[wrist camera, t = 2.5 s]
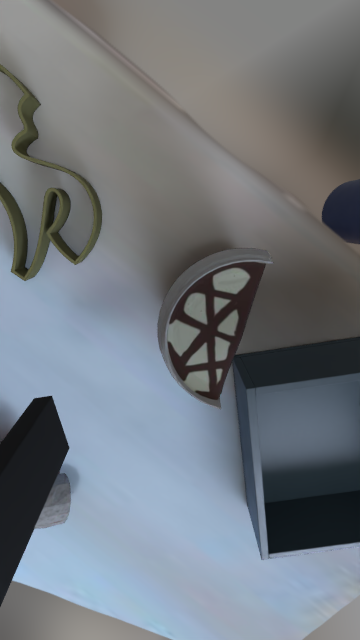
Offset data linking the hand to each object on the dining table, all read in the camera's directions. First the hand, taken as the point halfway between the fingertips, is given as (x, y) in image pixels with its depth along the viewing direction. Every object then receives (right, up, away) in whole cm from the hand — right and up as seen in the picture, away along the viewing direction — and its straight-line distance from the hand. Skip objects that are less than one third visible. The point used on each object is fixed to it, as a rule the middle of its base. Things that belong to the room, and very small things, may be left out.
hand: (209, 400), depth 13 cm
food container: (0, +6, +17) cm, 18 cm away
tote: (+15, -9, +23) cm, 29 cm away
